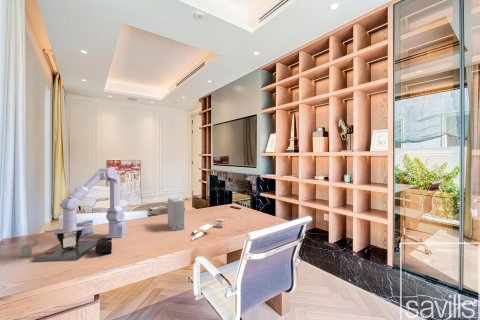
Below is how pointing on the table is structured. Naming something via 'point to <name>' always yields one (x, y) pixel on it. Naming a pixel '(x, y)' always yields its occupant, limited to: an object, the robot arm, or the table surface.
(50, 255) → the socket
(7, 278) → the table surface
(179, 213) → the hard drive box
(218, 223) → the white jointed pieces
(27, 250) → the grey angled bar block
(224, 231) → the table surface
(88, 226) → the medicine box
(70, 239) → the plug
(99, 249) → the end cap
